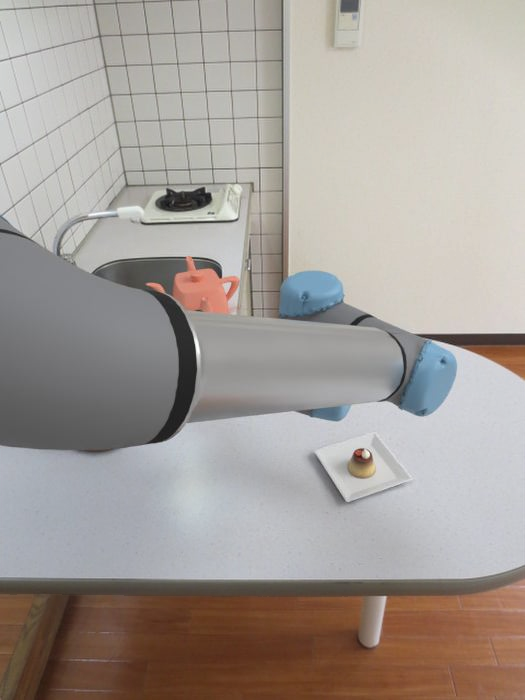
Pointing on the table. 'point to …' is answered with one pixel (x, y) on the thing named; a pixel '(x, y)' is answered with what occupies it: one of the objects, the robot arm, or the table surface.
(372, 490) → the dessert
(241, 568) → the table surface
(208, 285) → the pot
